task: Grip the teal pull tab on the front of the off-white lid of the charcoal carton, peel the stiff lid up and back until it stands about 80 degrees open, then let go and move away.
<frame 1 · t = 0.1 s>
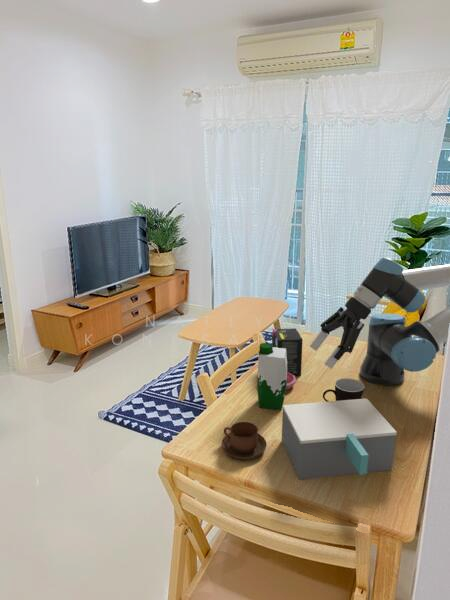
hand: (319, 357, 138), 15 cm above the table, tool tilted 35°, fingers open, 13 cm apart
carton: (333, 454, 116), on the table
carton lid: (342, 433, 109), point 9 cm above the table, hinge at 0.0°
saucer: (277, 386, 153), on the table
milk carton: (271, 404, 141), on the table
cup and saucer: (243, 449, 119), on the table
tampon box: (285, 370, 164), on the table
coffee mug: (341, 413, 135), on the table
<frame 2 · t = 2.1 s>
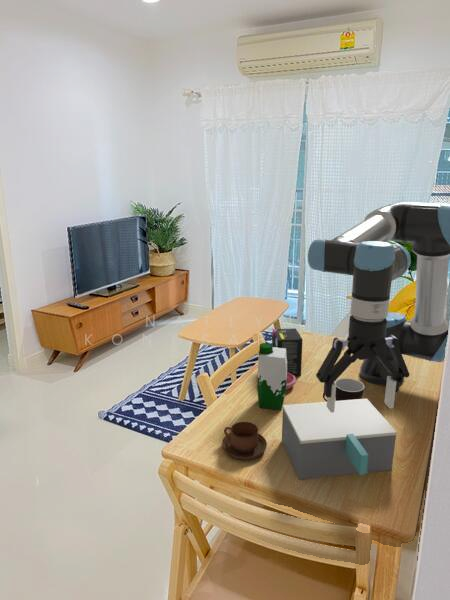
hand: (359, 407, 98), 21 cm above the table, tool pointing down, fingers open, 13 cm apart
nothing on the table moved.
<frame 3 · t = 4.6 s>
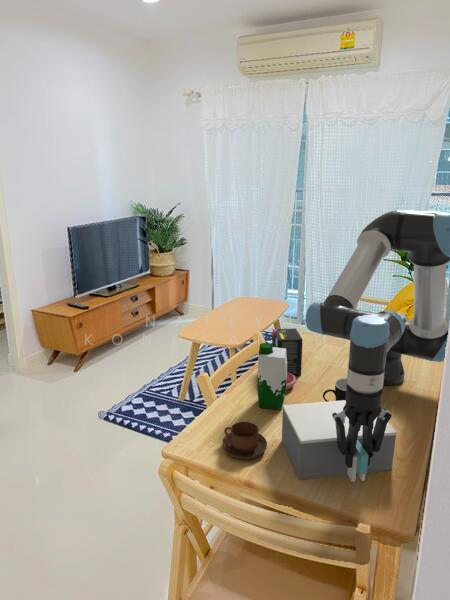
hand: (355, 477, 102), 3 cm above the table, tool pointing down, fingers closed on carton lid, 2 cm apart
carton lid: (342, 433, 109), point 9 cm above the table, hinge at 0.0°, touching gripper
everything else where it was.
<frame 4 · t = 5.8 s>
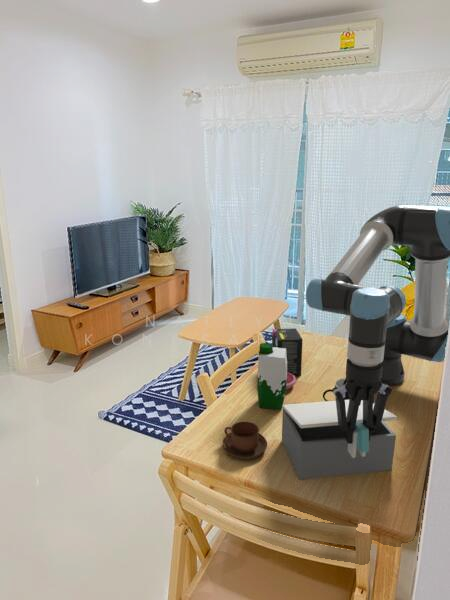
hand: (356, 453, 102), 9 cm above the table, tool pointing down, fingers closed on carton lid, 2 cm apart
carton lid: (343, 422, 109), point 12 cm above the table, hinge at 13.8°, touching gripper
everything else where it was.
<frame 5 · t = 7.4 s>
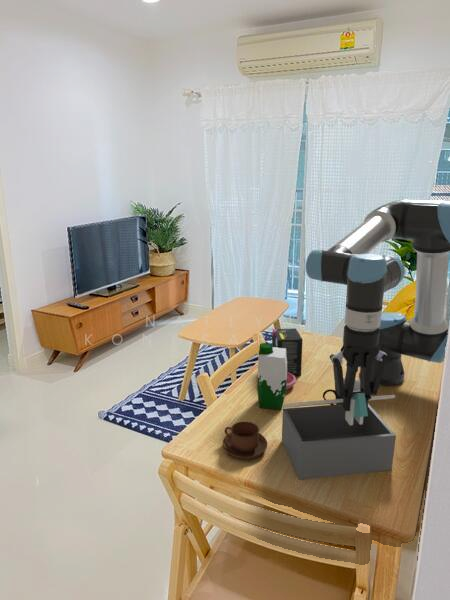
hand: (353, 421, 102), 16 cm above the table, tool pointing down, fingers closed on carton lid, 2 cm apart
carton lid: (342, 406, 109), point 16 cm above the table, hinge at 32.1°, touching gripper
everything else where it was.
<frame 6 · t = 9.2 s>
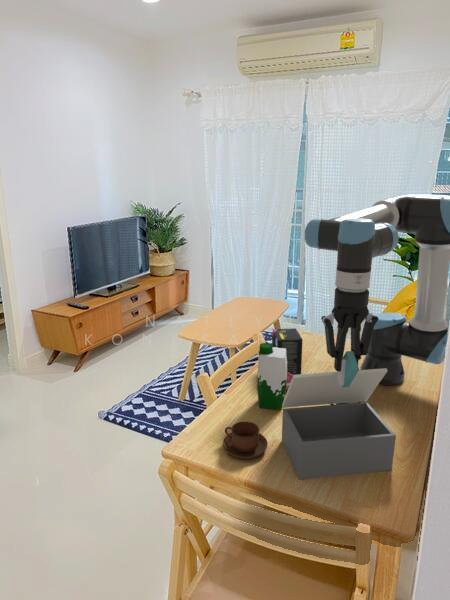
hand: (344, 382, 106), 23 cm above the table, tool pointing down, fingers closed on carton lid, 2 cm apart
carton lid: (338, 386, 111), point 20 cm above the table, hinge at 56.0°, touching gripper
everything else where it was.
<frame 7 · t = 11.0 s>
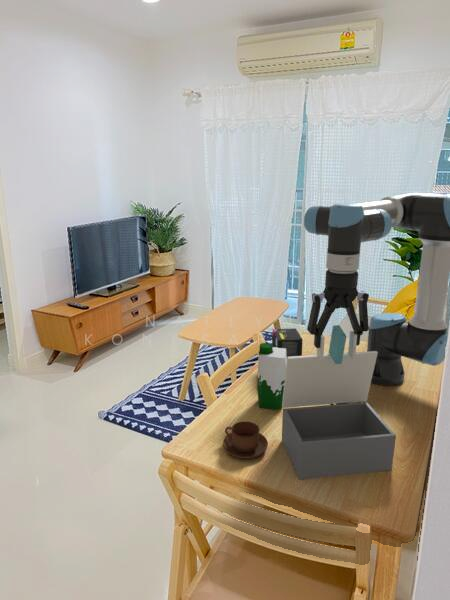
hand: (335, 357, 111), 26 cm above the table, tool pointing down, fingers open, 8 cm apart
carton lid: (332, 370, 114), point 22 cm above the table, hinge at 78.0°
everything else where it was.
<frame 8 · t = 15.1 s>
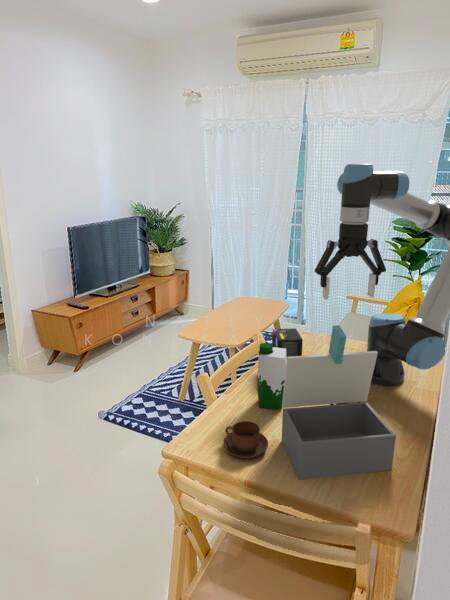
hand: (348, 297, 126), 37 cm above the table, tool pointing down, fingers open, 13 cm apart
nothing on the table moved.
at the end: carton lid at +78° (first picture: +0°); the gripper is holding nothing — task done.
